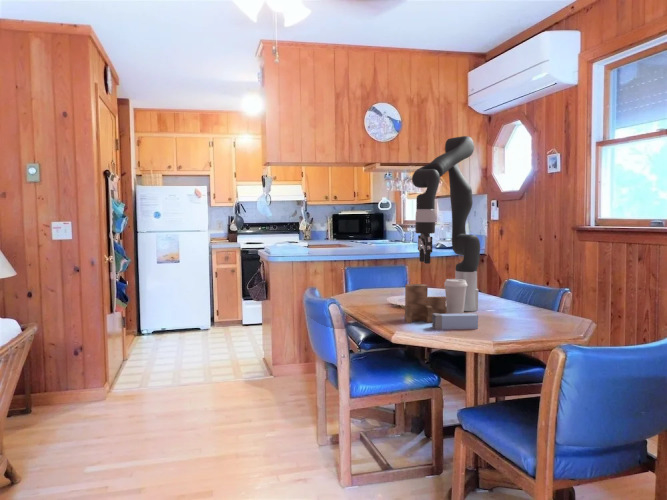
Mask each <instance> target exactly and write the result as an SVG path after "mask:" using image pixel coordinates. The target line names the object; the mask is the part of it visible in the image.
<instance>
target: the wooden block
mask: <svg viewBox="0 0 667 500" xmlns="http://www.w3.org/2000/svg"><path fill="white" fill-rule="evenodd" d="M404 287H405V288H404V289H405V290H404V292H405V293H404V295H405V296H404V298H405V299H404V304H405V305H404V322H405V323H406V324H412V323H413V322H417V321H418V322H420V321H421V322H423V321H424V322H425V323H427V324H430V323H431V324H432V313H439V314H447V307H446V296H428V288H429V287H428V285H427V284H426V283H424V284H423V283H422V284H419V283H418V284H417V283H414V284H413V283H412V284H411V283H410V284H407V283H406V284H405V285H404Z"/></svg>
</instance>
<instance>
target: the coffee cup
mask: <svg viewBox="0 0 667 500" xmlns="http://www.w3.org/2000/svg"><path fill="white" fill-rule="evenodd" d="M443 286H444V288H445V289H444V290H445V291H444V292H445V297H446V314H465V313H464V312H465V311H464V304H465V295H466V286H468V285H467V283H466V280H462V279H455V278H447V279H445V281H444V283H443Z"/></svg>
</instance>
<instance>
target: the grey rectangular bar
mask: <svg viewBox="0 0 667 500" xmlns="http://www.w3.org/2000/svg"><path fill="white" fill-rule="evenodd" d="M431 325H432V328H433V329H434V330H439V331H440V330H475V329H476V330H477V329H478V328H479V315H478V314H476V313H473V312H472V313H469V312H467V313H463V314H447V313H446V314H439V313H432V323H431Z"/></svg>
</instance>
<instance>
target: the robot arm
mask: <svg viewBox="0 0 667 500" xmlns="http://www.w3.org/2000/svg"><path fill="white" fill-rule="evenodd" d="M444 146H445V147H444V153H442V154H440V155H439V156H437V157H435V158H434V159H433V160H432V161H431V162H429V163H428V164H425V165H424V166H421V167H420V168H418V169H416V170H415V171H414V172H413V174H412V177H411V181H412V184H413V186H415V187H416V188H417V189H418V188H419V189H422V188H423V189H425V188H426V189H425V191H424V192H423V193H420V194H418V195H417V196H416V205H415V206H416V207H415V208H416V210H415V224H414V225H415V231H414V232H415V234H418V236H417V250H418V252H419V253H418V254H419V255H418V256H419V258H418V259H419V262H420V263H422V262H423V263H424V264H426V265H427V264H431V255H432V253H433V236H431V234H435V233H436V211H435V209H436V208H435V204H436V203H435V200H436V196H437V192H438V189H439V185H440V180H441V177H442V176H443V175H445V174H446V173H447V172H448V180H449V194H450V195H449V197H450V199H449V200H450V207H451V222H452V223H451V227H452V228H451V247H452V250H453V253H454V254H455V255H457V256H463V258H462V259H463V260H462V261H461V262H459V263H456V264H455V272H454V273H455V274H454V275H455V277H454V279H462V280H466V283H467V285H468V286H466V295H465V304H464V312H477V311H479V288H478V268H479V264H480V254H481V242H480V238H479V237H478V236H477V235H474V234H467V231H466V222H467V219H468V217H469V214H470V213H471V210H472V208H473V205H474V204H473V201H474V200H473V191H472V189H473V188H472V186H471V185H470V183H469V182H468V180H467V179H466V178H465V177H464V174H463V173H462V171H461V169H460V165H459V163H461V162H462V161H464V160H465V159H468V158H470V157H471V156H472V155H473V154H474V151H475V145H474V141H473V139H472V137H470V136H466V135H463V136H457V137H456V136H455V137H450V138H448V139H447V140H446V141H445V145H444ZM419 234H420V235H419Z"/></svg>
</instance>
